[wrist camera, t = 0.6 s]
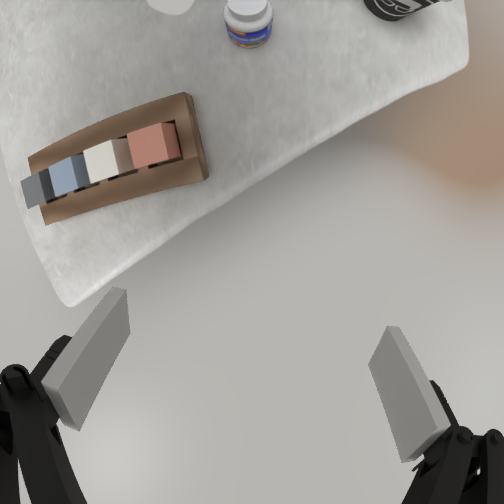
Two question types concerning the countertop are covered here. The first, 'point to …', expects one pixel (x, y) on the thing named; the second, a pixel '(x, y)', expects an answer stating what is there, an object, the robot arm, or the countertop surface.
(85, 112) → the countertop surface
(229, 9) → the pill bottle
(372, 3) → the coffee cup
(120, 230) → the countertop surface
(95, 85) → the countertop surface
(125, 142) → the key ivory
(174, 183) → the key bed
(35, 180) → the key charcoal
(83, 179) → the key blue
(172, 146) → the key brick
